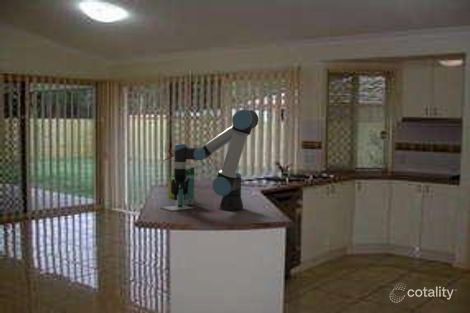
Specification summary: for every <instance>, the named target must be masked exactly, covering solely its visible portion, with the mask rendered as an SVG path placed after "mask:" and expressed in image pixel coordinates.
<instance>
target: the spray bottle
mask: <svg viewBox="0 0 470 313" xmlns="http://www.w3.org/2000/svg"><path fill="white" fill-rule="evenodd" d="M167 152H168V153H170V156H168V157H166V158H165V159H163V162H165V161H167V160H169V159H171V158H173V157H175V148H169V149H168V150H167ZM174 176H175V174H174V173H173V174H172V175H171V176H170V178H169V180H168V198H170V199H174V194H172V193H171V180H170V179H173V178H174Z"/></svg>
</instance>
